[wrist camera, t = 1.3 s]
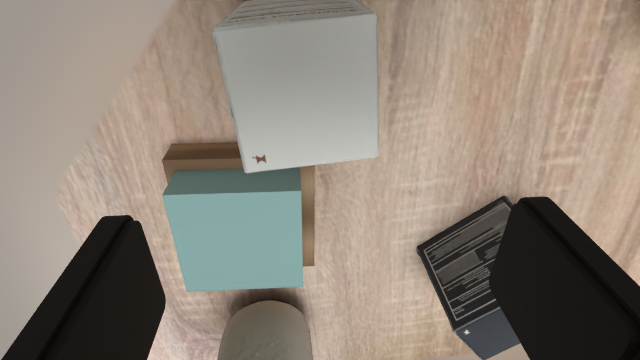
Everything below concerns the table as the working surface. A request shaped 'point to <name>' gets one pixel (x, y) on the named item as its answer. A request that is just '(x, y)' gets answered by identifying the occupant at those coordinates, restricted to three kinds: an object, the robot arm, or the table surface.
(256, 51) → the supplement box
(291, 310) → the glass bottle
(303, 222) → the tower base
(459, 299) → the small box
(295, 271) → the tower top
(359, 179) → the table surface
